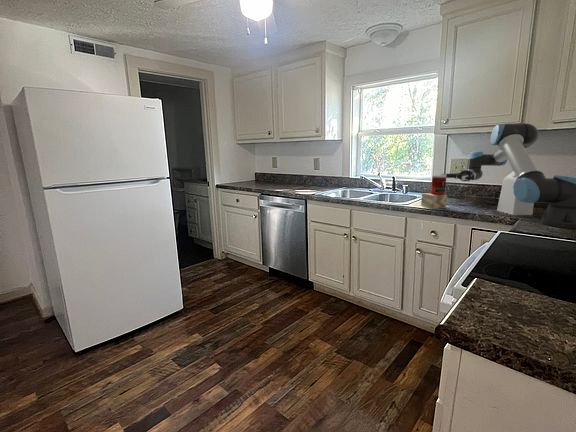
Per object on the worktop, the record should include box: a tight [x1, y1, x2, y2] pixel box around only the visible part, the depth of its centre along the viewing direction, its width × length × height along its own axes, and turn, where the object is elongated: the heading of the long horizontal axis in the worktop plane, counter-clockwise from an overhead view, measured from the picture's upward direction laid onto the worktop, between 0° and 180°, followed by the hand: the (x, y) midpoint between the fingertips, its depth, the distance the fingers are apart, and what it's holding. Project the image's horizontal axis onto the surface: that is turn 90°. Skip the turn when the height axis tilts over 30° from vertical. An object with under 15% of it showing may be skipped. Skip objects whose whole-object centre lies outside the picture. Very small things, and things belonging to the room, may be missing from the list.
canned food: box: [430, 175, 447, 195], centre depth 193 cm, size 8×8×11 cm
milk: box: [496, 170, 535, 216], centre depth 175 cm, size 12×12×26 cm
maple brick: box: [420, 192, 448, 210], centre depth 195 cm, size 10×10×8 cm
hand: (451, 177), depth 199 cm, fingers open, 13 cm apart
